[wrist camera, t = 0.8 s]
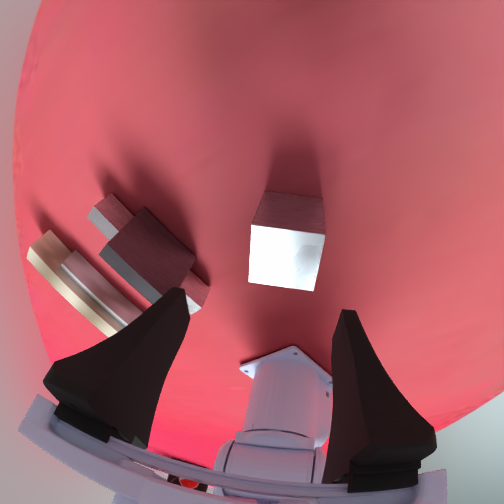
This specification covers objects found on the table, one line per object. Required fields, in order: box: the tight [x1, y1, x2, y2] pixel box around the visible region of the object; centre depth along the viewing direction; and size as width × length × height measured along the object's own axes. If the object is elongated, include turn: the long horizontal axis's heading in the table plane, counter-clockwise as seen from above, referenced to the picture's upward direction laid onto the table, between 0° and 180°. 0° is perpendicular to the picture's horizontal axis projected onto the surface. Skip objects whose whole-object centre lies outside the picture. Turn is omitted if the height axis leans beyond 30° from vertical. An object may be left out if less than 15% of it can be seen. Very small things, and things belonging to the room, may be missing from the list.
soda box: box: [167, 458, 208, 492], centre depth 82 cm, size 40×14×13 cm, turn 166°
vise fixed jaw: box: [27, 230, 143, 337], centre depth 28 cm, size 20×4×4 cm, turn 42°
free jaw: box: [88, 193, 210, 314], centre depth 21 cm, size 12×3×6 cm, turn 42°
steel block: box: [249, 191, 325, 291], centre depth 19 cm, size 4×4×5 cm
